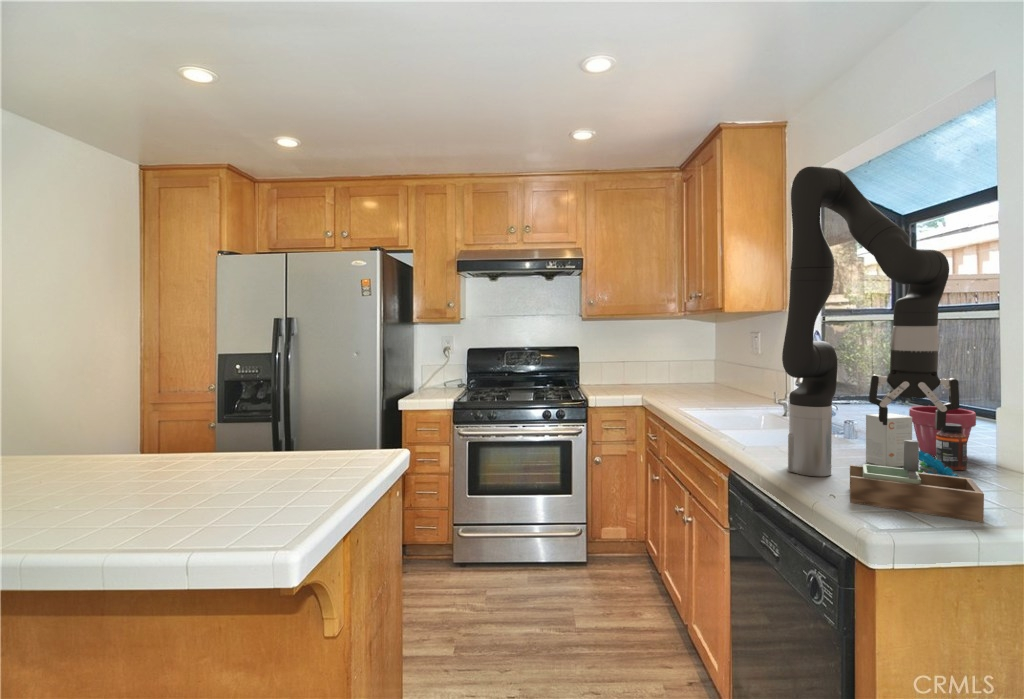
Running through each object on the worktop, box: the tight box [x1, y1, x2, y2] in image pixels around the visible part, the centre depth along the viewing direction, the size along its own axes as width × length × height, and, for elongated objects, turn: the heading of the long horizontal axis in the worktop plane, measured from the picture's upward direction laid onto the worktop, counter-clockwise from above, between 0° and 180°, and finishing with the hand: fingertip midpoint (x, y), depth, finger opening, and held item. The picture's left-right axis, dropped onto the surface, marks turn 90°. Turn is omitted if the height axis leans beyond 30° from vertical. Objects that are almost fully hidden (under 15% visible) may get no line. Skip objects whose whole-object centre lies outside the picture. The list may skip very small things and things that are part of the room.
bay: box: [849, 464, 985, 523], centre depth 101 cm, size 20×11×5 cm, turn 56°
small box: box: [865, 413, 913, 468], centre depth 131 cm, size 8×6×13 cm
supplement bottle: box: [935, 423, 968, 471], centre depth 126 cm, size 6×6×11 cm
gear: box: [918, 449, 960, 477], centre depth 115 cm, size 11×6×10 cm
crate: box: [862, 439, 921, 484], centre depth 103 cm, size 9×8×12 cm
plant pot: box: [908, 405, 977, 457], centre depth 139 cm, size 14×14×13 cm
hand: (910, 427), depth 101 cm, fingers open, 8 cm apart
